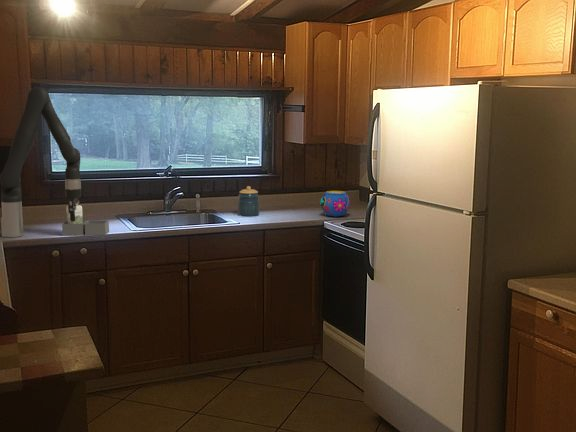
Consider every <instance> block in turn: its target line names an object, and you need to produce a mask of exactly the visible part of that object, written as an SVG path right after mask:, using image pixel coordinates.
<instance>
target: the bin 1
mask: <svg viewBox="0 0 576 432" xmlns="http://www.w3.org/2000/svg"><path fill="white" fill-rule="evenodd" d="M86 222H88V220H83V223H82V224H67V220H66V221H64V222H63V223H62V224H61V231H62V236H63V237H65V236H66V237H68V236H69V237H70V236H71V237H73V236H75V237H78V236H85V223H86Z"/></svg>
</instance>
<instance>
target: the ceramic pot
mask: <svg viewBox="0 0 576 432" xmlns="http://www.w3.org/2000/svg"><path fill="white" fill-rule="evenodd" d="M319 204H320V206H321V210H322V212H323V213H324V214H325V215H327V216H329V217H332V218H333V217H334V218H337V217H342V216H345V215H346V214H347V213H348V211H349V210H350V206H351V201H350V197H349V195H348V193H347V192H346V191H342V190H327V191H326V192H324V194H323V195H322V197H321V198H320V201H319Z"/></svg>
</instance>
